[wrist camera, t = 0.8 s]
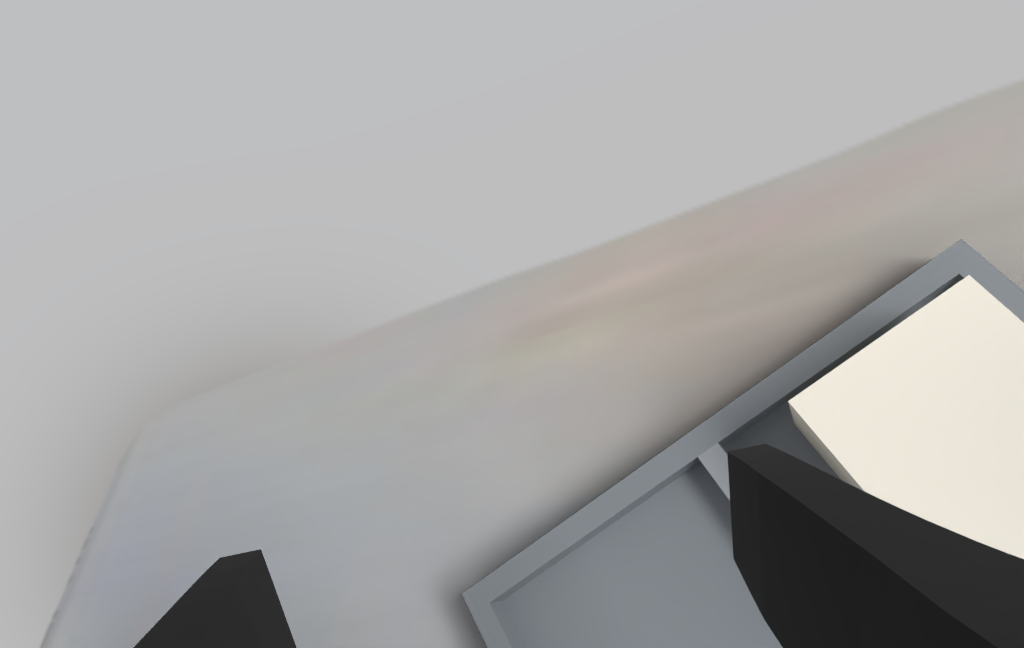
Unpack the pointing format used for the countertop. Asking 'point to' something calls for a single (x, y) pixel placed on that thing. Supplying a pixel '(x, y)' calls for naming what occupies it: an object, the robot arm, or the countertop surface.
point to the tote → (688, 512)
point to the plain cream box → (933, 417)
